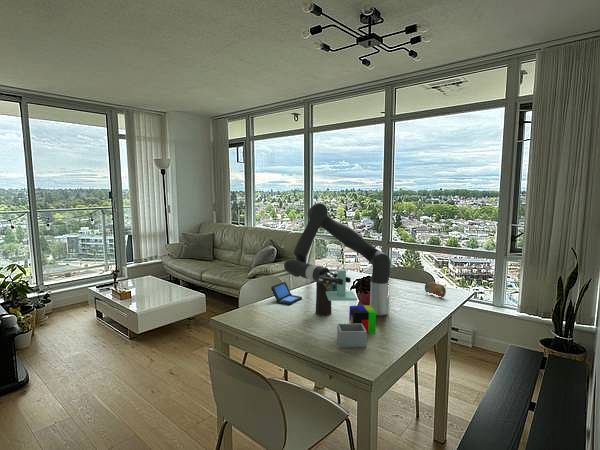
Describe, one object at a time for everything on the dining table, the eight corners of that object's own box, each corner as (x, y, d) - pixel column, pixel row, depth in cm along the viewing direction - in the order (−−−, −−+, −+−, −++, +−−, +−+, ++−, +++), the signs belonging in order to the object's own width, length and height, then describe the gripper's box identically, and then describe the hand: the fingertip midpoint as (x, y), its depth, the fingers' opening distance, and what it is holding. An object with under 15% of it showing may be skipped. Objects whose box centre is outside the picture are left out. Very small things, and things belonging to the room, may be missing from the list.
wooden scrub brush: (424, 293, 222) (424, 280, 221) (427, 292, 223) (428, 280, 222) (442, 299, 208) (443, 286, 208) (446, 299, 210) (447, 285, 209)
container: (330, 316, 179) (331, 279, 177) (313, 315, 181) (314, 278, 179) (332, 311, 187) (333, 275, 185) (316, 309, 189) (316, 274, 187)
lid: (352, 293, 154) (353, 267, 153) (357, 300, 144) (357, 272, 143) (325, 293, 153) (326, 267, 152) (328, 300, 144) (329, 272, 142)
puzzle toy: (349, 325, 167) (349, 305, 166) (369, 325, 168) (369, 305, 167) (354, 334, 157) (354, 313, 156) (375, 333, 158) (375, 312, 157)
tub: (361, 338, 152) (361, 323, 151) (366, 347, 143) (366, 331, 143) (337, 338, 152) (337, 323, 151) (340, 348, 143) (340, 332, 142)
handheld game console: (289, 306, 196) (289, 290, 195) (270, 302, 202) (270, 287, 201) (303, 299, 209) (303, 284, 208) (284, 295, 216) (284, 281, 215)
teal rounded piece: (345, 293, 221) (345, 281, 221) (338, 295, 217) (338, 283, 216) (325, 287, 235) (325, 276, 234) (318, 289, 230) (318, 277, 229)
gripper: (306, 268, 153) (335, 275, 141) (328, 263, 163) (356, 270, 151) (306, 284, 154) (335, 293, 142) (327, 279, 164) (356, 286, 151)
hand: (346, 281), depth 146 cm, fingers closed on lid, 4 cm apart
